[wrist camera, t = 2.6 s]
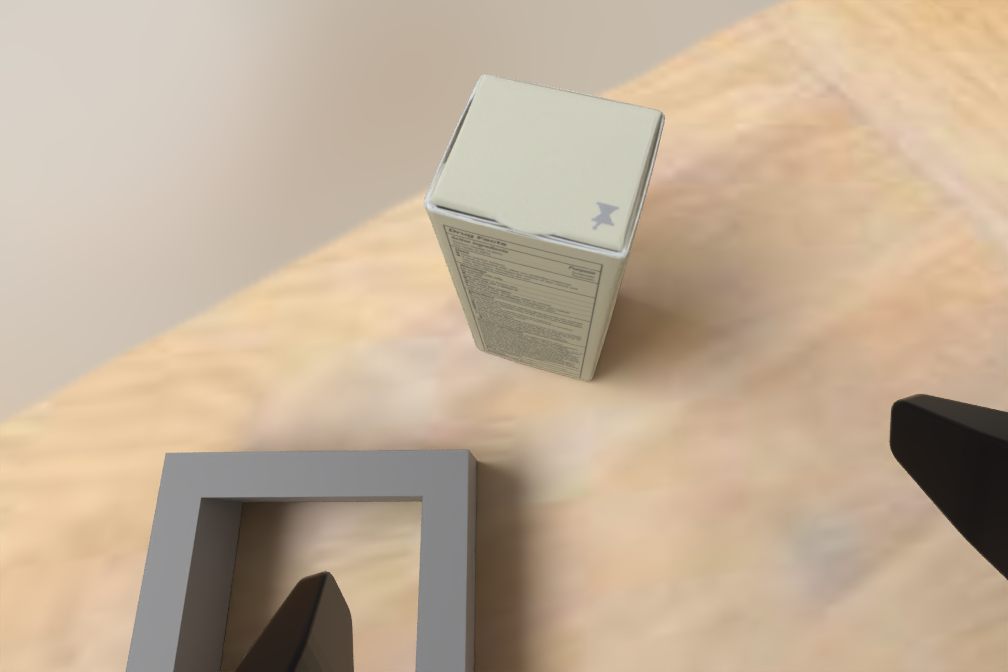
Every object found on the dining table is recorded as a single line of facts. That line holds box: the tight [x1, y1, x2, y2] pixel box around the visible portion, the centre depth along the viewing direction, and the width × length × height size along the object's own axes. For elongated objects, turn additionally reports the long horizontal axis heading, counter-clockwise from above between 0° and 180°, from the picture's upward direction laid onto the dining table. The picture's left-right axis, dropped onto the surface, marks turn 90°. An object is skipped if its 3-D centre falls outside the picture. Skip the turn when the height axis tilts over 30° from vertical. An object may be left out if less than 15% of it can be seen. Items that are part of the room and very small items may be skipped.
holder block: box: [126, 450, 477, 672], centre depth 20 cm, size 10×10×3 cm
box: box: [424, 74, 665, 381], centre depth 19 cm, size 5×4×11 cm
